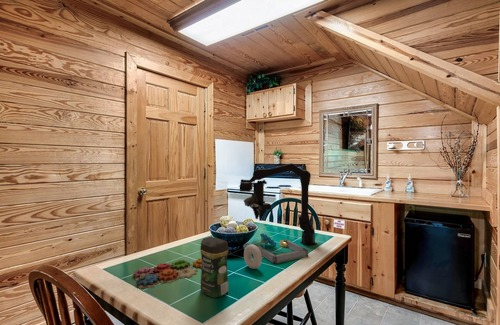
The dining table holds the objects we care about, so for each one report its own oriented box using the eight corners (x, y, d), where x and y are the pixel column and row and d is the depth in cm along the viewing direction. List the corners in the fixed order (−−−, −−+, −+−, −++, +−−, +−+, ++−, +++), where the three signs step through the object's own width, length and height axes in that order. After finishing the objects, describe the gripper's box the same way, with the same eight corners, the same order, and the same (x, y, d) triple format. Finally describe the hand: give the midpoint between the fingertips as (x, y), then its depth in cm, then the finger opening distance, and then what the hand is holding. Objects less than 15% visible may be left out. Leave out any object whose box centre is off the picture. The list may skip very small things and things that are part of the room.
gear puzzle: (204, 259, 122) (203, 250, 122) (219, 271, 108) (219, 261, 108) (131, 275, 105) (131, 265, 105) (139, 292, 92) (138, 280, 92)
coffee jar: (196, 291, 91) (196, 238, 91) (214, 283, 97) (213, 233, 97) (214, 301, 85) (214, 244, 84) (232, 292, 90) (232, 238, 90)
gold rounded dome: (286, 243, 143) (286, 237, 143) (293, 246, 138) (293, 240, 138) (277, 244, 140) (277, 239, 140) (284, 248, 135) (284, 242, 135)
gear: (280, 245, 134) (268, 233, 131) (274, 255, 132) (261, 243, 129) (269, 242, 144) (257, 231, 141) (263, 251, 141) (251, 240, 139)
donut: (263, 270, 108) (263, 246, 107) (257, 273, 105) (257, 248, 105) (248, 263, 115) (248, 240, 115) (242, 265, 113) (242, 242, 113)
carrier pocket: (288, 246, 137) (288, 240, 137) (308, 256, 124) (308, 249, 124) (256, 252, 128) (256, 246, 128) (274, 263, 115) (274, 257, 115)
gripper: (238, 190, 150) (238, 218, 150) (253, 194, 134) (253, 225, 134) (255, 189, 155) (255, 216, 156) (272, 193, 139) (272, 222, 139)
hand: (258, 219), depth 146 cm, fingers open, 4 cm apart
